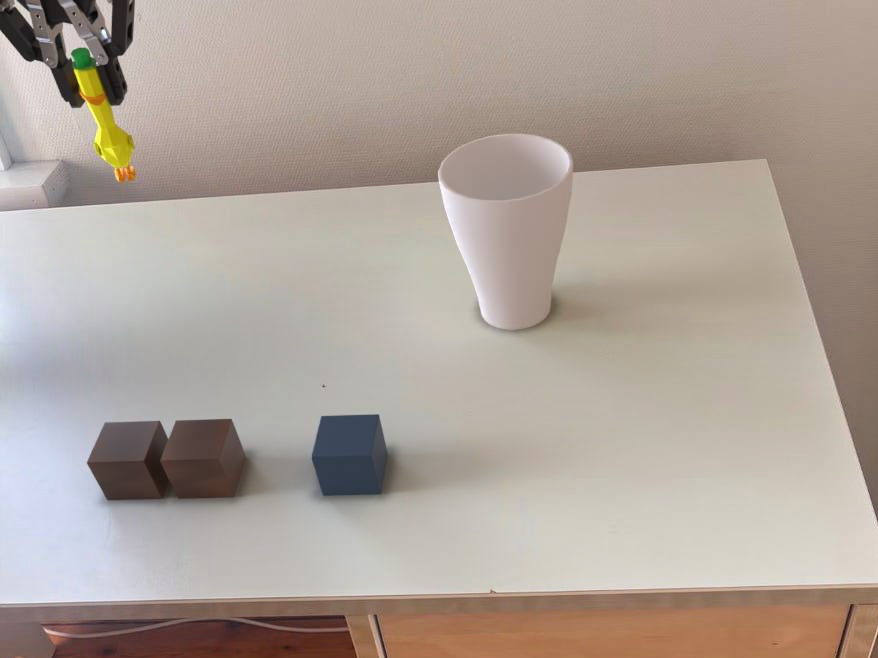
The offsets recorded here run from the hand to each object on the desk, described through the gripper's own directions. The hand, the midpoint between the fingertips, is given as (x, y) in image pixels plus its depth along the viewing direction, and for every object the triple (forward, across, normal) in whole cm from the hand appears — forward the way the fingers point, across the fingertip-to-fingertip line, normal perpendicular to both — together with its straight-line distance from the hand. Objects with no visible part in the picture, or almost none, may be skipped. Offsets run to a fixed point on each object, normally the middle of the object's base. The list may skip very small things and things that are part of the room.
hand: (98, 102), depth 89 cm
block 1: (+14, -10, +36) cm, 40 cm away
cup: (+13, -38, +16) cm, 44 cm away
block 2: (+14, -16, +36) cm, 41 cm away
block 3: (+14, -27, +36) cm, 47 cm away
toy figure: (+7, 0, 0) cm, 7 cm away
